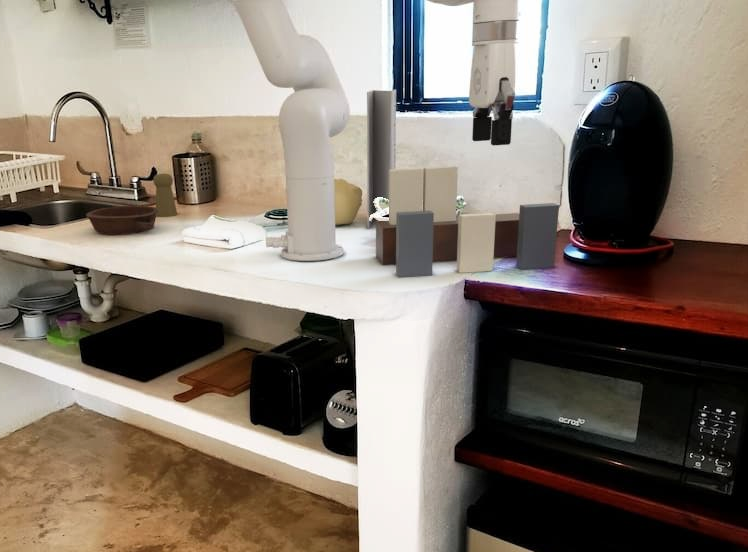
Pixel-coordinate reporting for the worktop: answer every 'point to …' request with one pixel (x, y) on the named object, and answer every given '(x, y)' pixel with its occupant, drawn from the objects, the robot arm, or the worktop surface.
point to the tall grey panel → (380, 144)
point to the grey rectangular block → (537, 235)
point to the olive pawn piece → (164, 195)
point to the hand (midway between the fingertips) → (490, 142)
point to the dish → (123, 219)
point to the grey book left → (414, 243)
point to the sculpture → (346, 201)
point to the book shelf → (450, 239)
